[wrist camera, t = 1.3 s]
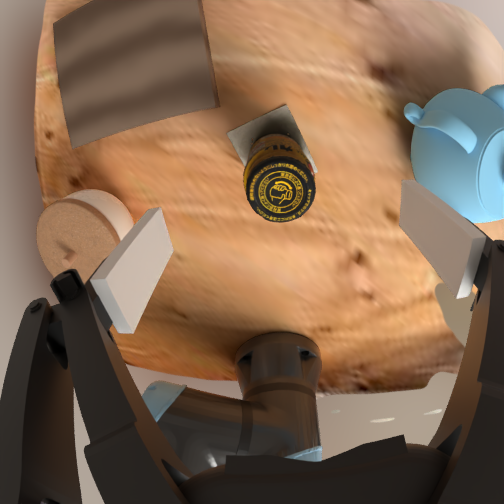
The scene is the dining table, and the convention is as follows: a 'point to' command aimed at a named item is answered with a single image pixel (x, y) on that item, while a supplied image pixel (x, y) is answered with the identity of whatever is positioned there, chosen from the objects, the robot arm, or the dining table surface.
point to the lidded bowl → (81, 231)
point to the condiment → (275, 166)
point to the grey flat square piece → (132, 65)
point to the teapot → (461, 150)
